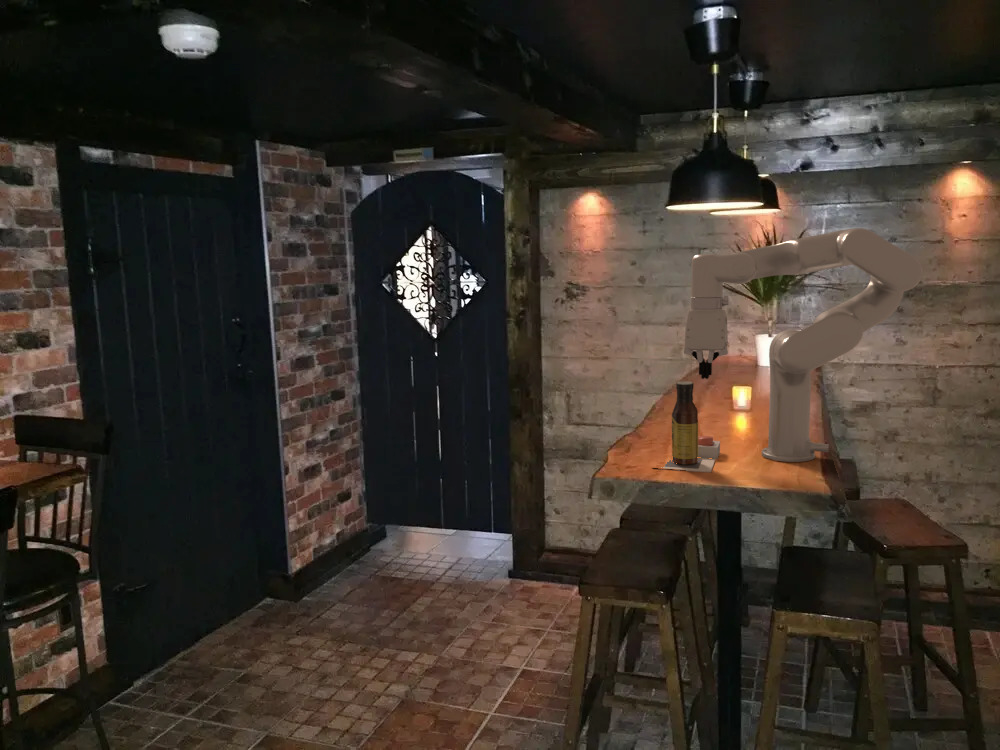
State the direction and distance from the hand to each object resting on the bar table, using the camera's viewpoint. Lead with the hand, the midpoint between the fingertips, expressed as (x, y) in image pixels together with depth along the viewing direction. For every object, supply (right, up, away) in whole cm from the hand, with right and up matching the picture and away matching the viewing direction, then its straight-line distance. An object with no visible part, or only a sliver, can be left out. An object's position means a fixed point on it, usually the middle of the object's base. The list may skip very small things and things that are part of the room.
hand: (705, 377), depth 207 cm
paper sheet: (-7, -21, -6) cm, 23 cm away
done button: (+1, -18, +3) cm, 18 cm away
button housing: (+1, -20, +3) cm, 20 cm away
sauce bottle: (-6, -21, -6) cm, 23 cm away
